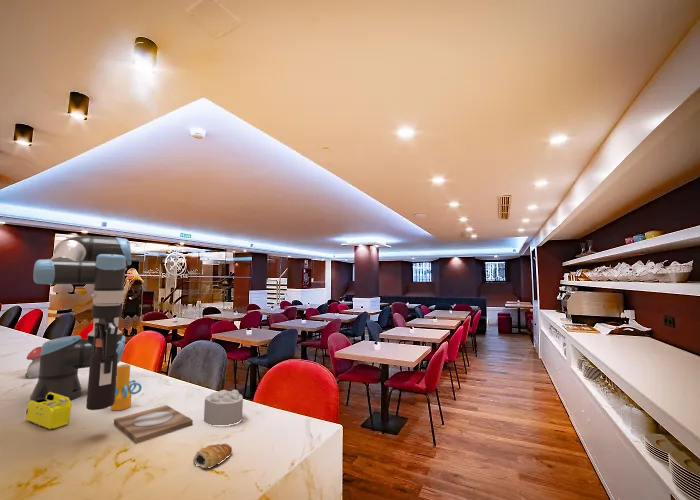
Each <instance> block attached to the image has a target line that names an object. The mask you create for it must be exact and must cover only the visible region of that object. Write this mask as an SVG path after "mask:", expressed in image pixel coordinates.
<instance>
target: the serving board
mask: <svg viewBox="0 0 700 500" xmlns="http://www.w3.org/2000/svg"><path fill="white" fill-rule="evenodd" d="M193 421H194V420H193V419H192V418H190V417H188V416H186V415H184V414H183V413H181V412H180V411H178V410H176V409H174V408H172V407H171V406H169V405H167V404H165V405H162V406H158V407H155V408H151V409H147V410H143V411H139V412H135V413H132V414H128V415H124V416H120V417H117V418H116V417H115V418H113V425H114V426H115V427H117V428H118V430H120V431H121V432H122V433H124V435H126V436H127V437H128V438H129V439H130V440H131V441H133V442H134V443H135V444H139V443H142V442H145V441H148V440H151V439H153V438H157V437H160V436H163V435H167V434H169V433H172V432H176V431H178V430H181V429H185V428H187V427H190V426H193V424H194V423H193Z"/></svg>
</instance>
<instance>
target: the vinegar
mask: <svg viewBox="0 0 700 500" xmlns="http://www.w3.org/2000/svg"><path fill="white" fill-rule="evenodd" d="M95 346H96V347H95V348H96V352H95V353H94V354H93V355H92V356H91V357H90V367H88V368H89V369H88V370H89V372H88V382H87V393H86V405H85V408H86V409H87V410H89V411H99V410H105V409H107V408H111V406H112V405H113V404H114V402H115V390H116V377H117V366H118V364H119V363H118V353H117V352H116V360H113V364H112V376H111V384H107V385H102V386H99V380H100V368H101V363H99V362H100V361H102V340H101V339H100V338H97V339H96V344H95Z"/></svg>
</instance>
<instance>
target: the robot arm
mask: <svg viewBox="0 0 700 500" xmlns="http://www.w3.org/2000/svg"><path fill="white" fill-rule="evenodd" d="M131 250H132V249H131V243H130V241H129V240H128V239H127V238H123V237H115V236H114V237H112V236H111V237H109V236H96V235H78V236H72V237H69V238H66V239H63V240H61V241H59V242H58V243H57V244H56V245H55V247H54V249H53V256H52V257H51V258H48V259H38V260H36V261H35V263H34V266H33V275H32V278H33V281H34V283H35V284H37V285H48V286H49V285H93V293H91V294H90V296H91V298H92V304H93V306H92V307H91V318H92V319H93V326H92V327H93V328H92V330H91V331H90V332H89V333H88V334H87V338H82V336H81V335H78V334H77V335H70V336H63V337H59V338H58V337H57V338H53V339H50V340H47V341H45V342H43V344H42V345H41V347H42V349H41V354H40V356H41V358H40V368H39V377H38V379H37V382H36V384H35V387H34V388H33V391H32V392H31V395H30V398H29V402H30V401H31V400H32V401H37V400H41V399H44V400H46V395H47V394H48V393H49V392H52V393H55V394H58V395H62V396H65V397H68V398H69V399H70V401H72V400H74V399H75V400H76V399H77V398H79V397H81V396H82V391H83V388H82V384H81V382H80V378H79V376H78V373H79V369H87V368H90V357H91V356H92V355H93V354H94V353H95V352H96V348H95V347H96V346H95V344H96V339H97V338H100V339H101V340H102V361H100V362H99V363H101V368H100V380H99V386H102V385H107V384H111V376H112V364H113V360H116V352H117V353H118V364H119V363H120V362H121V360H122V357H123V354H124V351H125V350H124V349H125V344H126V336H125V335H123V331H122V330H120V328H119V323H120V322H119V321H120V319H119V318H121V317H122V315H123V305H122V304H123V303H124V296H125V295H124V294H125V293H124V291H125V288H124V286H125V277H126V271H127V270H128V266H131V265H132V253H131Z"/></svg>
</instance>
